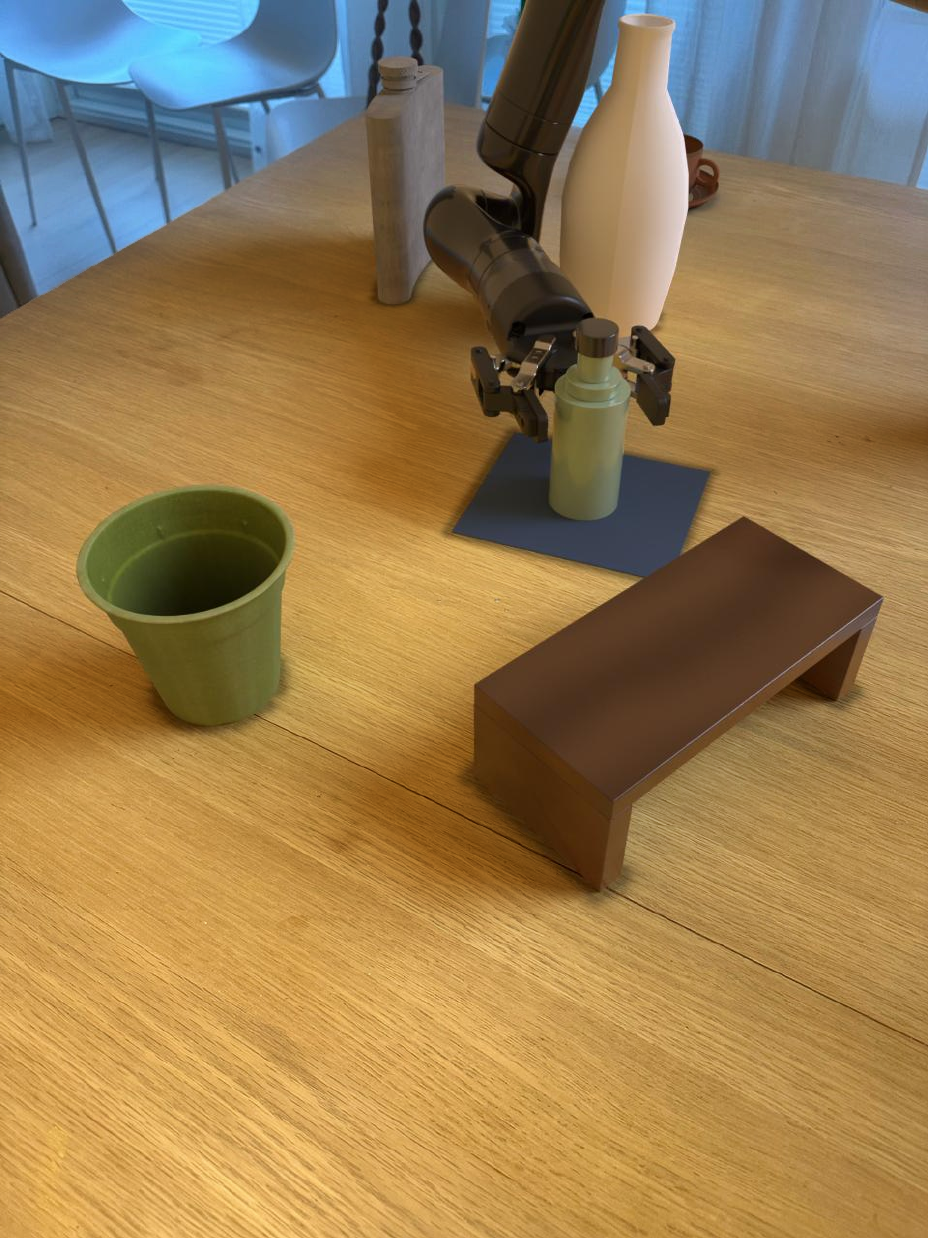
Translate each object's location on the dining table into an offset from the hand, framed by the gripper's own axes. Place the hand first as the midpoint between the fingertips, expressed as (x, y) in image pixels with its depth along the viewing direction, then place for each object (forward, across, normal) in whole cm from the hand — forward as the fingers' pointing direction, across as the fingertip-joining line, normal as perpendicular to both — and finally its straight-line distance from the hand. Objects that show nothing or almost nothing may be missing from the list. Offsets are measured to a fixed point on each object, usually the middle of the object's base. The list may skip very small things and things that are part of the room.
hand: (603, 422), depth 72 cm
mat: (-2, 0, +8) cm, 9 cm away
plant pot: (+10, -28, +9) cm, 31 cm away
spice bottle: (-2, 0, +8) cm, 8 cm away
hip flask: (-44, -5, +9) cm, 45 cm away
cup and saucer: (-56, +28, +9) cm, 63 cm away
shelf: (+21, -2, +8) cm, 23 cm away
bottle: (-29, +12, +8) cm, 33 cm away
